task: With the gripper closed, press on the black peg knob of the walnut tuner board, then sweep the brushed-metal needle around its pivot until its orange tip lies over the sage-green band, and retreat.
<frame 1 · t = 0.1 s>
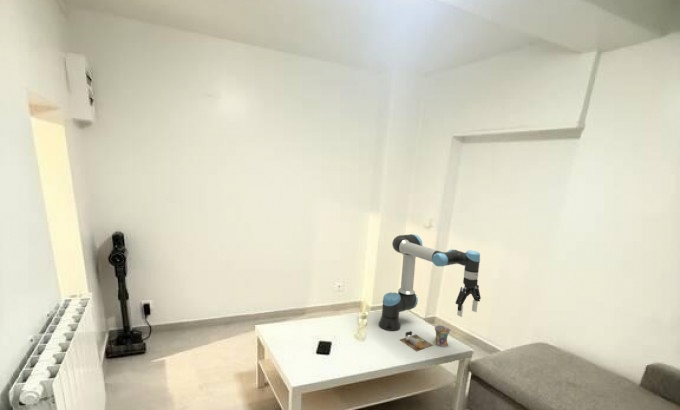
hand: (467, 313, 184), 28 cm above the table, fingers open, 13 cm apart
mug: (439, 344, 203), on the table
peg: (413, 339, 198), point 4 cm above the table, hinge at 0.0°
tuner board: (416, 344, 201), on the table
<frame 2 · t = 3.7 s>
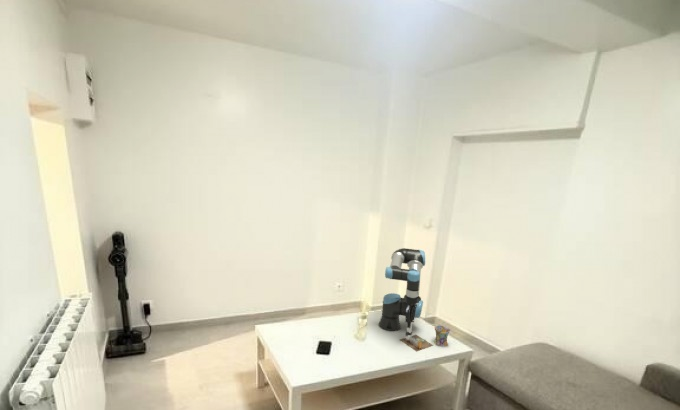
hand: (409, 331, 201), 7 cm above the table, fingers closed
nothing on the table moved.
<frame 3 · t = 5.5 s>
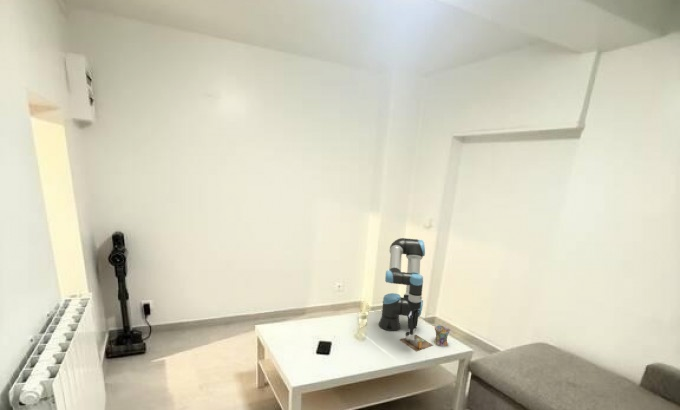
hand: (411, 338, 190), 8 cm above the table, fingers closed
nothing on the table moved.
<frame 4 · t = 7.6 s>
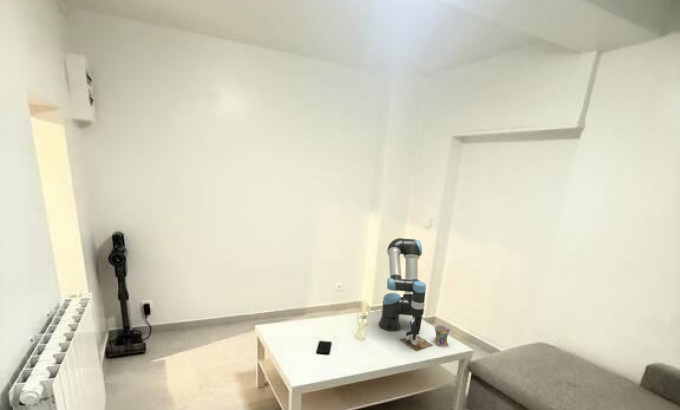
hand: (414, 344, 196), 3 cm above the table, fingers closed
peg: (413, 339, 198), point 4 cm above the table, hinge at 6.4°, touching gripper
everything else where it was.
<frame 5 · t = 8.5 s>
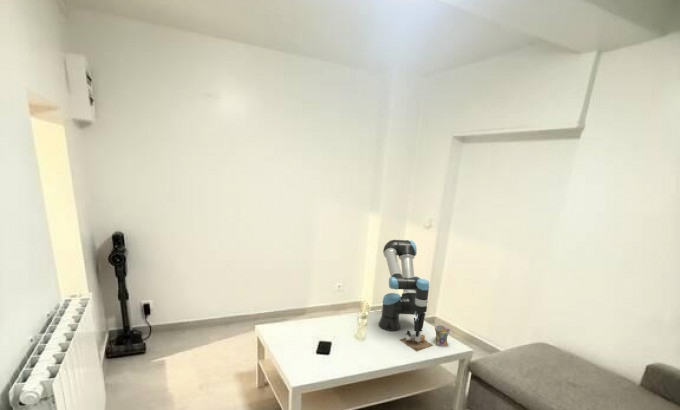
hand: (417, 340, 199), 3 cm above the table, fingers closed
peg: (414, 336, 201), point 4 cm above the table, hinge at 60.3°, touching gripper
everything else where it was.
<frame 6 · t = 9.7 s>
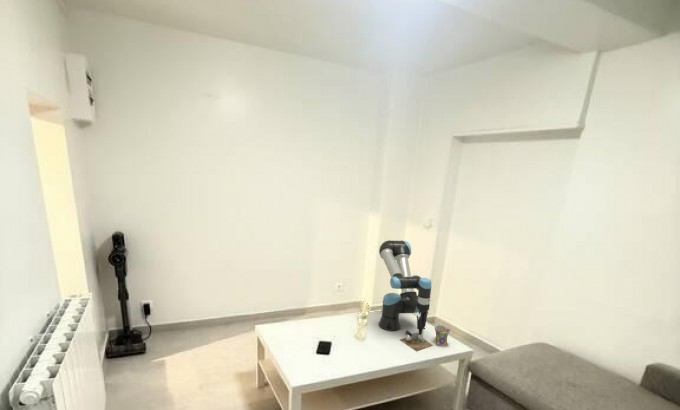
hand: (420, 338, 203), 3 cm above the table, fingers closed
peg: (413, 335, 203), point 4 cm above the table, hinge at 84.1°, touching gripper
everything else where it was.
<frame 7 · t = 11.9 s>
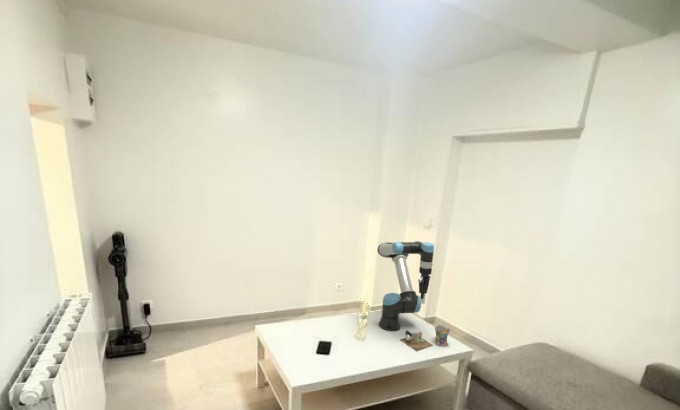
hand: (422, 302, 203), 25 cm above the table, fingers closed
peg: (413, 335, 203), point 4 cm above the table, hinge at 84.2°
everything else where it was.
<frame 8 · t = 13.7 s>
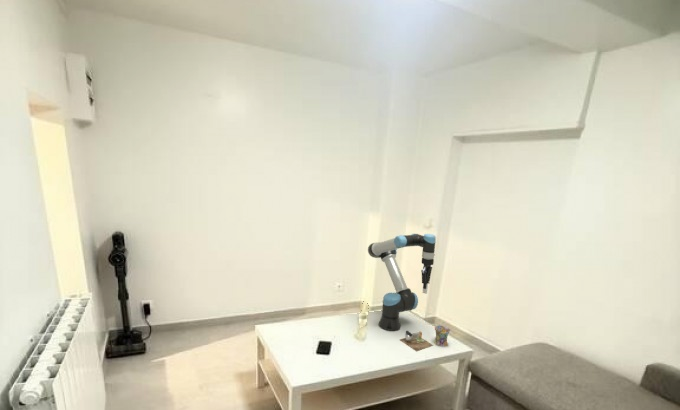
hand: (424, 292, 209), 29 cm above the table, fingers closed
nothing on the table moved.
at the end: peg at +84° (first picture: +0°); peg touching nothing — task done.
